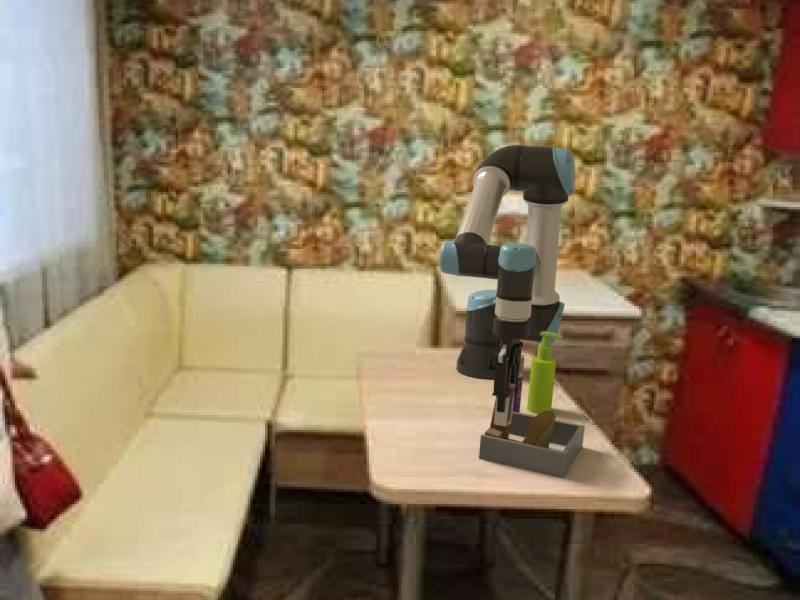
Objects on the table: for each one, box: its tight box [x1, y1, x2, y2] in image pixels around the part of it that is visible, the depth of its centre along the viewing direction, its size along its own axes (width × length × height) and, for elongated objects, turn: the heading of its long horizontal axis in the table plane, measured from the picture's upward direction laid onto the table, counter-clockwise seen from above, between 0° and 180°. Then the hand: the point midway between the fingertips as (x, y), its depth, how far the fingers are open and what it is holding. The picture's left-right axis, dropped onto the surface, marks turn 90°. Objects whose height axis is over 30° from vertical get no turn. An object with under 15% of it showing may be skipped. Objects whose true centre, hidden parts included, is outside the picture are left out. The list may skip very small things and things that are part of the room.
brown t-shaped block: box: [484, 383, 516, 440], centre depth 172 cm, size 10×3×14 cm, turn 156°
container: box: [513, 353, 525, 413], centre depth 191 cm, size 5×5×15 cm
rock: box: [521, 409, 557, 449], centre depth 169 cm, size 11×9×10 cm
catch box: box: [478, 412, 586, 478], centre depth 170 cm, size 18×18×5 cm
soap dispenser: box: [526, 331, 564, 415], centre depth 194 cm, size 6×7×20 cm
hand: (502, 421), depth 172 cm, fingers closed on brown t-shaped block, 3 cm apart
